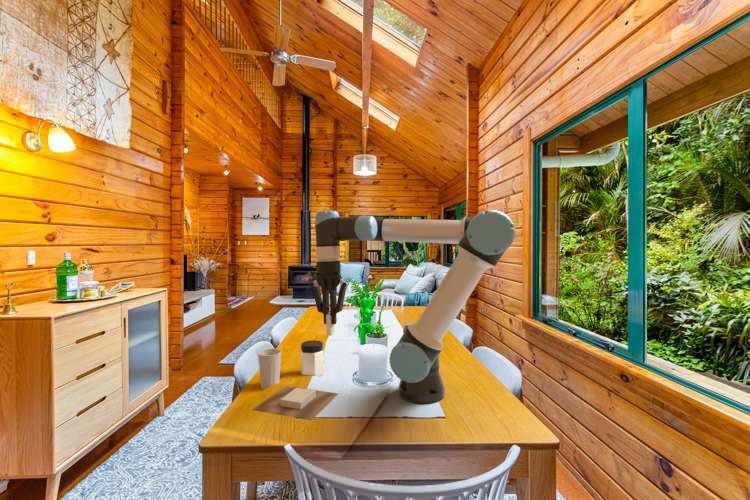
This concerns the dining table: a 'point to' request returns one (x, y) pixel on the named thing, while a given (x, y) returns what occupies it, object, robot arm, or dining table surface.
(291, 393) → the tile
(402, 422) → the dining table surface
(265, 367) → the cup
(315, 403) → the board
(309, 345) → the jar
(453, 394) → the dining table surface
